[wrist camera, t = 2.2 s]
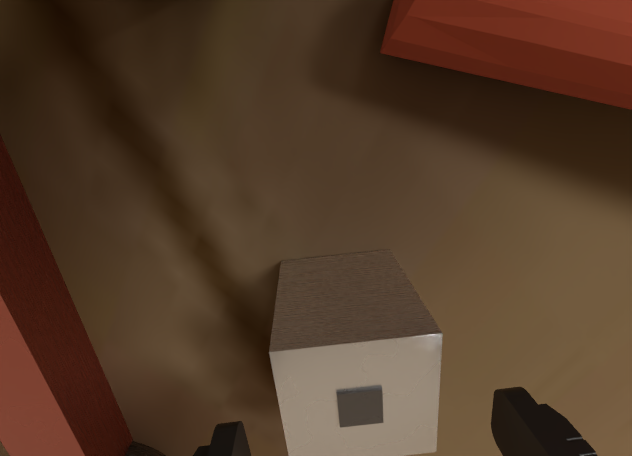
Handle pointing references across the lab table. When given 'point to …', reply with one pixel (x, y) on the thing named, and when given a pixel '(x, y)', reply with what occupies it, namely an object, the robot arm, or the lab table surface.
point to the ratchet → (47, 349)
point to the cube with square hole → (354, 358)
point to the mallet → (523, 42)
